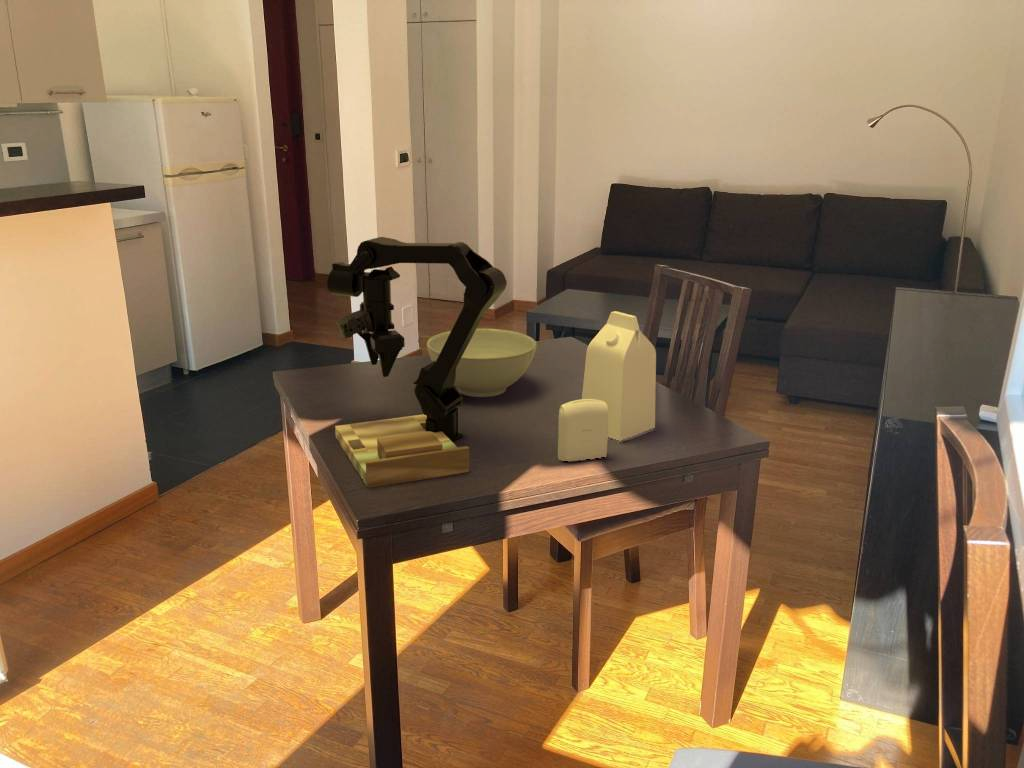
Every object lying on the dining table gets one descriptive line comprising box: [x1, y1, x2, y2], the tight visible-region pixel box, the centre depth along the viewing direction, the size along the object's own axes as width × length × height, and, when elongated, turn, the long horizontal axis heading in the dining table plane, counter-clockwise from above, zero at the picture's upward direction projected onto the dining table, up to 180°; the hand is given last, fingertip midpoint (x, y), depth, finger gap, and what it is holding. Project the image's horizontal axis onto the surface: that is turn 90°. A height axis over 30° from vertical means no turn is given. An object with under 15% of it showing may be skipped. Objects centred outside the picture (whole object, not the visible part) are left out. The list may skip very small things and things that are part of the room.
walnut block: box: [377, 432, 443, 459], centre depth 165 cm, size 7×11×4 cm, turn 112°
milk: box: [581, 310, 657, 441], centre depth 185 cm, size 12×12×26 cm
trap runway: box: [334, 413, 470, 489], centre depth 174 cm, size 27×20×5 cm
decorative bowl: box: [426, 328, 538, 398], centre depth 212 cm, size 27×27×12 cm
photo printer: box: [557, 398, 609, 462], centre depth 172 cm, size 10×4×12 cm, turn 104°
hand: (379, 370), depth 184 cm, fingers open, 9 cm apart
